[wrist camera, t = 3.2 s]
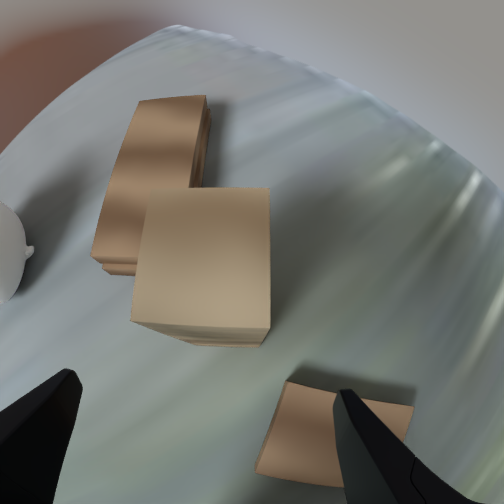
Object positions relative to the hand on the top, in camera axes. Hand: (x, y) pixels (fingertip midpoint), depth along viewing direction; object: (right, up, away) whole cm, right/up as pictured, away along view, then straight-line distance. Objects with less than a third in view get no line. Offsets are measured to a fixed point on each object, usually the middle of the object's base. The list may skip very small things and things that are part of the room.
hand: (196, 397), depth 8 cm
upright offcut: (0, 0, +13) cm, 13 cm away
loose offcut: (+8, -9, +9) cm, 15 cm away
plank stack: (-6, +11, +17) cm, 21 cm away
